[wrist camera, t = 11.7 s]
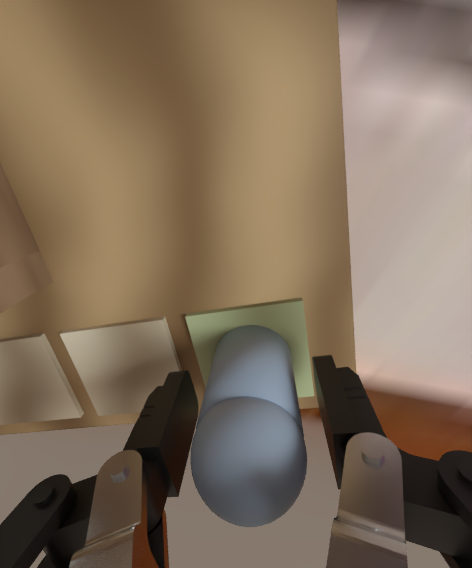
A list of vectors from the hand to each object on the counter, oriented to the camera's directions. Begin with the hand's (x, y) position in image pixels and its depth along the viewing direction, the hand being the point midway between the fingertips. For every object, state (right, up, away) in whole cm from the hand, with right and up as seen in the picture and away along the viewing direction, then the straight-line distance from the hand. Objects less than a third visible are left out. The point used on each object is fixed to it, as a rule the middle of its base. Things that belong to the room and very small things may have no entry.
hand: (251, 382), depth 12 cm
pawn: (0, +1, +1) cm, 1 cm away
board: (-10, +5, +2) cm, 11 cm away
